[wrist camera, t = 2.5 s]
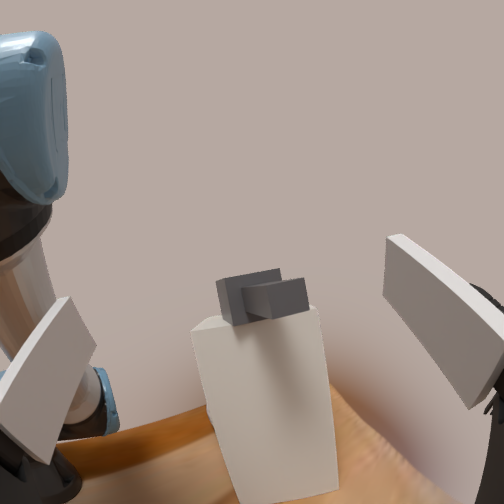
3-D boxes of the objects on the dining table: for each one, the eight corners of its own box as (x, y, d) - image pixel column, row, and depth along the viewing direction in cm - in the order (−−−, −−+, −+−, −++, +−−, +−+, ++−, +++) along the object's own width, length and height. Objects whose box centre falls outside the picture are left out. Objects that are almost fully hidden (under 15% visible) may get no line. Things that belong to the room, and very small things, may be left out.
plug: (329, 320, 20) (318, 257, 21) (255, 341, 19) (242, 271, 19) (262, 309, 39) (255, 274, 39) (220, 317, 37) (213, 281, 38)
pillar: (339, 489, 26) (317, 307, 29) (241, 506, 26) (189, 331, 29) (322, 449, 38) (299, 300, 41) (244, 463, 38) (207, 317, 41)
